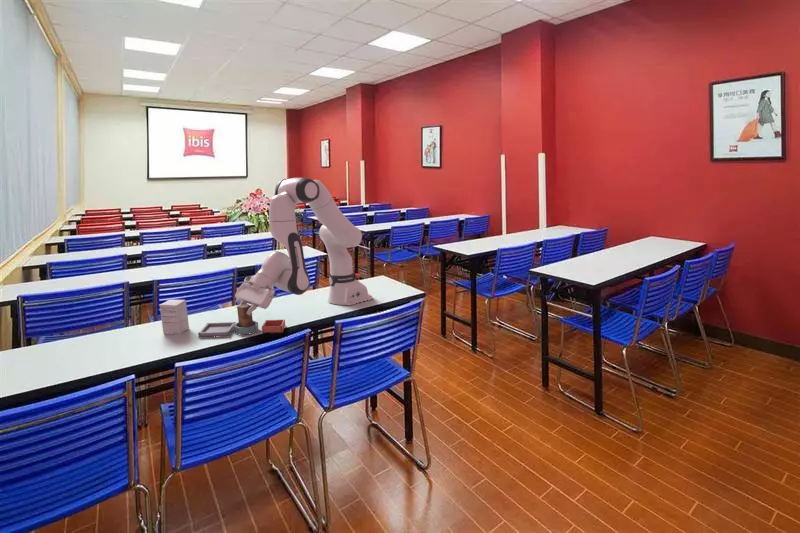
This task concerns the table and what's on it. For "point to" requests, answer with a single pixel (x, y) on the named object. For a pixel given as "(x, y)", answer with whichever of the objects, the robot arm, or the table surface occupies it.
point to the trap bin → (273, 326)
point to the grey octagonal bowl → (246, 328)
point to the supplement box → (174, 316)
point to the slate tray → (217, 329)
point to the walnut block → (244, 316)
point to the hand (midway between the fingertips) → (243, 312)
